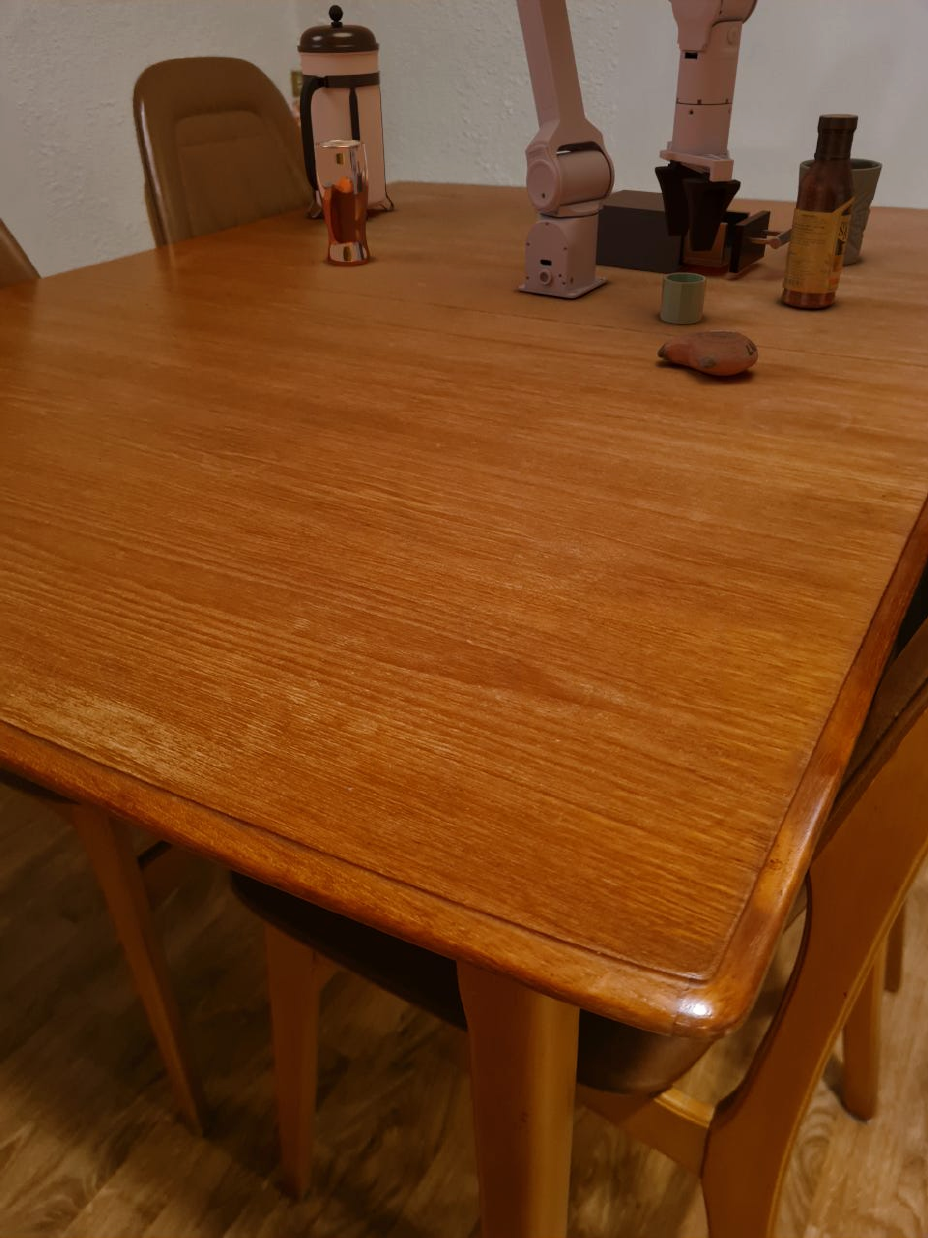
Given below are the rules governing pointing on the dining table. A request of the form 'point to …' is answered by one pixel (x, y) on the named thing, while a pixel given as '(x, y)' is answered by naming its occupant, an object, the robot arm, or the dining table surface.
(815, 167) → the sauce bottle
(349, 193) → the beer glass
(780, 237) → the drawer
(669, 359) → the sweet potato
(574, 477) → the dining table surface
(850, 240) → the grey tapered cup
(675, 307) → the jar
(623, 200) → the dark grey cabinet
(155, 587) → the dining table surface
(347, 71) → the coffee press
